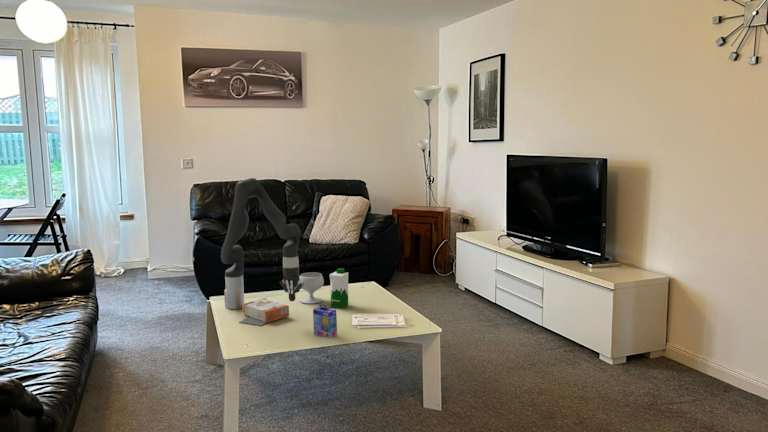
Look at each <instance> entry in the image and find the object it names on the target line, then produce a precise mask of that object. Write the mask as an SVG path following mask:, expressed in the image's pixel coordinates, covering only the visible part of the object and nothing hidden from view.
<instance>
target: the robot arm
mask: <svg viewBox="0 0 768 432" xmlns="http://www.w3.org/2000/svg"><path fill="white" fill-rule="evenodd" d="M254 197H255V198H257V199H258V200H259V201H260V204H261V205H262V211H263V214H264V216H265V218H266V219H267V220H268V221H269V222H270V224H272V225H273V226H274V229H275V231H276V233H277V235H278V236H279V237H280V238H281V239H283V240H285V241H286V243H285V244H284V245H283V247H282V274H283V277H282V278H283V279H282V280H281V281H279V282H278V283H279V284H280V286H281V288H282V289H283V291H284V292H285V293H287V294H288V300H289V301H290V302H295V301H296V294H297V293H299V292H300V291H301V289H302V286H303V285H304V283H303V282H301V281H300V278H299V277H300V264H299V263H300V260H299V249H298V247H299V244H300V238H301V228H300V227H299V225H298V224H296V223H293V222H292V223H288V224H287V223H286V221H287V218H286V217H287V216H286V215H285V214H284V213H283V212H282V211H281V210H280V209H279V208H278V207H277V206H276V204H275V203H274V202H273V200H272V198H270V195H269V194H268V193H267V192H266V190H265V189H264V187H263V185H262V184H261V183H260V181H259V180H258V179H256V178H255V177H251V178H246V179H243V180H240V181H238V182H237V183H236V185H235V189H234V197H233V198H234V199H233V204H232V205H233V206H232V211H231V216H230V218H229V223H228V228H227V233H226V236H225V239H224V242H223V245H222V246H221V247H222V248H221V251H220V259H221V262H222V263H223V264H225V265H231V264H233V265H232V266H230V267H228V268H227V269H226V270H225V271H224V280H225V289H224V290H223V294H224V307H225V308H227V310H239V309H243V303H245V292H244V290H245V289H244V288H245V287H244V286H245V285H244V261H245V260H244V259H245V258H244V257H245V255H244V254H245V253H244V248H243V247H242V246H241V245H240V244H236V243H237V242H238V241H239V240H240V239H241V238H242V237H243V236H244V234H245V233H246V232H247V230H248V226H249V222H250V217H249V214H248V211H247V209H246V205H247V202H248V199H251V198H254Z"/></svg>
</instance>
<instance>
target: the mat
mask: <svg viewBox="0 0 768 432" xmlns="http://www.w3.org/2000/svg"><path fill="white" fill-rule="evenodd" d="M238 323H239V324H243V323H244V325H251V326H257V327H258V326H259V327H262V326H264V325H266V324H269V323H270V322H263V321H261V320H258V319H255V318H253V317H250V316H247V318H244V319H242V320H240V321H238Z"/></svg>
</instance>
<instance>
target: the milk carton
mask: <svg viewBox="0 0 768 432" xmlns="http://www.w3.org/2000/svg"><path fill="white" fill-rule="evenodd" d="M328 276H329V281H330V308H331V309H340V310H342V309H345V308H347V306H349V272H347V271H345V268H343V267H340V268H336V271H334V272H332V273H330V274H329V275H328Z"/></svg>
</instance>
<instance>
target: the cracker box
mask: <svg viewBox="0 0 768 432" xmlns="http://www.w3.org/2000/svg"><path fill="white" fill-rule="evenodd" d="M242 314H243V315H245V316H247V317H253V318H255V319H258V320H261V321H263V322H269V323H270V322H272V321H273V322H274V321H277V320H281V319H284V318H287V317H290V307H289V305H287V304H284V303H282V302H281V303H280V302H278V301H275V300H272V299H268V298H266V297H265V298H260V299H256V300H251V301H247V302H244V303H243V308H242Z"/></svg>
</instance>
